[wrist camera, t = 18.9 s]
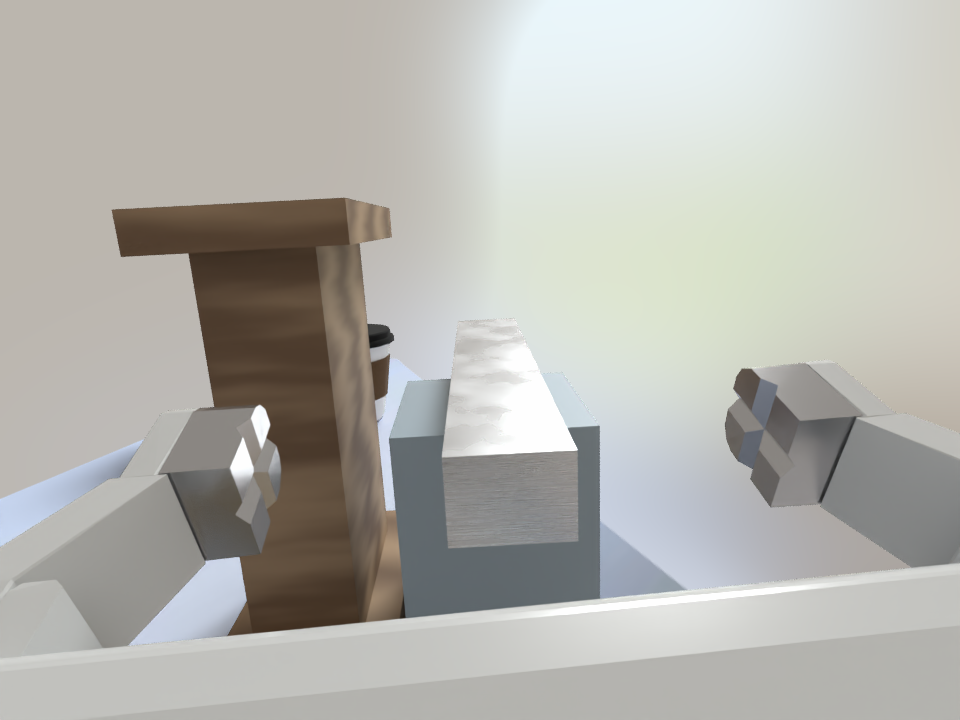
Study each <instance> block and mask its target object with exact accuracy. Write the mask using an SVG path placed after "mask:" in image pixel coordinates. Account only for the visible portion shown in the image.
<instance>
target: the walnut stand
mask: <svg viewBox="0 0 960 720" xmlns="http://www.w3.org/2000/svg"><path fill="white" fill-rule="evenodd" d="M112 213H113V219H114V224H115V229H116V234H117V239H118V244H119V249H120V254H121V257H126V256H143V255H144V256H145V255H164V254H183V253H189V259H190V265H191V271H192V277H193V283H194V289H195V295H196V300H197V307H198V313H199V318H200V325H201V331H202V336H203V342H204V348H205V354H206V360H207V366H208V372H209V378H210V383H211V389H212V395H213V401H214V407H228V406H245V405H261V406H262V407H263V408H265V410H266V413H267V416H268V419H269V422H270V428H269V430H268V433H267V436H266V438H267V439H268V440H270V441H271V442H272V443H274V444H275V445H276V446H277V450H278V453H279V457H280V465H281V482H280V490H279V494H278V497H277V501H276V502H274V503H273V504H272V505H271V506H270V507H269V508H268V509H267V512H268V515H269V518H270V521H271V522H270V525H269V528H268V532H267V535H266V538H265V542H264V545H263V548H262V552H261V554H258V555H249V556H241V557H240V562H241V568H242V574H243V580H244V586H245V592H246V598H247V602H246V604H245V606H244V607H243V609H242V611H241V613H240V614H239V616H238V618H237V620H236V622H235V623H234V625H233V627H232V629H231V630H230V632H229V634H228V636H233V635H244V634H254V633H264V632H274V631H284V630H294V629H304V628H314V627H324V626H334V625H344V624H354V623H364V622H374V621H383V620H393V619H403V618H406V615H405V604H404V593H403V583H402V572H401V561H400V551H399V540H398V529H397V519H396V510H394V511H386V508H385V498H384V488H383V478H382V468H381V458H380V447H379V437H378V427H377V417H376V407H375V397H374V386H373V376H372V366H371V356H370V346H369V336H368V326H367V315H366V307H365V306H366V305H365V295H364V285H363V275H362V265H361V255H360V244H359V243H362V242H368V241H373V240H378V239H384V238H390V237H392V234H391V222H390V211H389V208H386V207H382V206H377V205H373V204H369V203H364V202H360V201H356V200H352V199H348V198H334V199H333V198H332V199H313V200H293V201H273V202H254V203H233V204H214V205H194V206H174V207H154V208H135V209H116V210H112Z"/></svg>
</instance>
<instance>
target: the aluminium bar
mask: <svg viewBox="0 0 960 720" xmlns="http://www.w3.org/2000/svg"><path fill="white" fill-rule="evenodd" d="M442 469H443V483H444V497H445V511H446V525H447V539H448V549H449V548H467V547H485V546H503V545H522V544H540V543H558V542H576V541H578V454H577V448H576V446H575V444H574V442H573V440H572V438H571V436H570V433H569V431H568V429H567V427H566V425H565V423H564V421H563V419H562V417H561V415H560V412H559V410H558V408H557V406H556V404H555V402H554V400H553V398H552V396H551V394H550V392H549V389H548V387H547V385H546V383H545V381H544V379H543V377H542V375H541V373H540V371H539V369H538V366H537V364H536V362H535V361H534V358H533V356H532V354H531V352H530V350H529V348H528V346H527V343H526V341H525V339H524V337H523V335H522V333H521V331H520V330H519V327H518V325H517V323H516V320H515V319H514V318H510V319H492V320H474V321H459V322H458V325H457V333H456V342H455V350H454V359H453V367H452V375H451V384H450V392H449V400H448V409H447V417H446V426H445V434H444V442H443V451H442Z"/></svg>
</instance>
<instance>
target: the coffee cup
mask: <svg viewBox="0 0 960 720" xmlns="http://www.w3.org/2000/svg"><path fill="white" fill-rule="evenodd" d="M367 326H368V336H369V346H370V356H371V366H372V376H373V386H374V397H375V407H376V417H377V421H378V420H380V419H381V418H382V417H383V414H384V412H385V401H386V394H387V390H388V375H389V360H390V354H389V344H390V343H391V342H392V341H394V335H393V334H392V333H390V329H389V328H388V327H387V326H384V325H378V324H367Z"/></svg>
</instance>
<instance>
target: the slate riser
mask: <svg viewBox="0 0 960 720" xmlns="http://www.w3.org/2000/svg"><path fill="white" fill-rule="evenodd" d="M541 375H542V377H543V379H544V381H545V383H546V385H547V387H548V389H549V392H550V394H551V396H552V398H553V400H554V402H555V404H556V406H557V408H558V410H559V412H560V415H561V417H562V419H563V421H564V423H565V425H566V427H567V429H568V431H569V433H570V436H571V438H572V440H573V442H574V444H575V446H576V448H577V454H578V541H576V542H558V543H540V544H522V545H503V546H485V547H467V548H449V549H448V539H447V525H446V511H445V497H444V483H443V469H442V451H443V442H444V434H445V426H446V417H447V409H448V400H449V392H450V384H451V379H440V380H423V381H408V382H407V385H406V388H405V391H404V394H403V397H402V400H401V403H400V406H399V409H398V412H397V415H396V419H395V422H394V425H393V428H392V431H391V434H390V437H389V444H390V455H391V466H392V476H393V487H394V497H395V508H396V519H397V529H398V540H399V551H400V561H401V572H402V583H403V593H404V604H405V615H406V618H413V617H423V616H433V615H443V614H453V613H463V612H472V611H482V610H492V609H502V608H512V607H522V606H532V605H543V604H553V603H563V602H573V601H583V600H593V599H600V453H599V452H600V426H599V424H598V423H597V421H596V420H595V418H594V417H593V416H592V414H591V413H590V411H589V410H588V408H587V407H586V406H585V404H584V403H583V401H582V400H581V398H580V397H579V396H578V394H577V393H576V391H575V390H574V388H573V387H572V386H571V384H570V383H569V381H568V380H567V378H566V377H565V376H564V374H563V373H562V372H560V373H543V374H541Z"/></svg>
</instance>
